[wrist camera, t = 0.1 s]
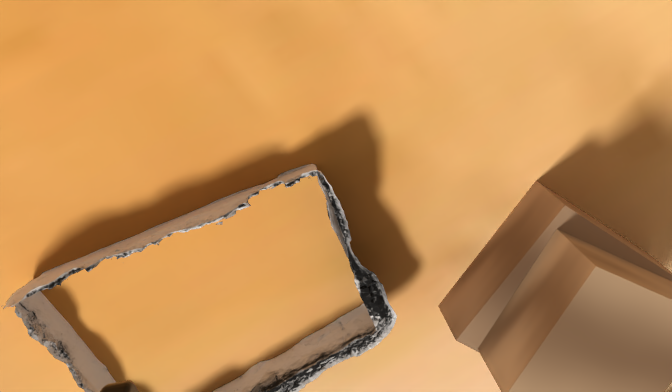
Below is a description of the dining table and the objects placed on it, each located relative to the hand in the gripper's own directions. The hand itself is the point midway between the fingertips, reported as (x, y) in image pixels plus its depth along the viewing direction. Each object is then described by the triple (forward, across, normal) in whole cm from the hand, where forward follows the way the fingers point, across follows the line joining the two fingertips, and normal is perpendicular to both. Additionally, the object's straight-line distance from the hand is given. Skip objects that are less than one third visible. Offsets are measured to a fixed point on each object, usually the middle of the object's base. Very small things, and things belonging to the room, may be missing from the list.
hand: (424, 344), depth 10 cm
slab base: (+13, -9, +13) cm, 21 cm away
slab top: (+10, -9, +13) cm, 19 cm away
